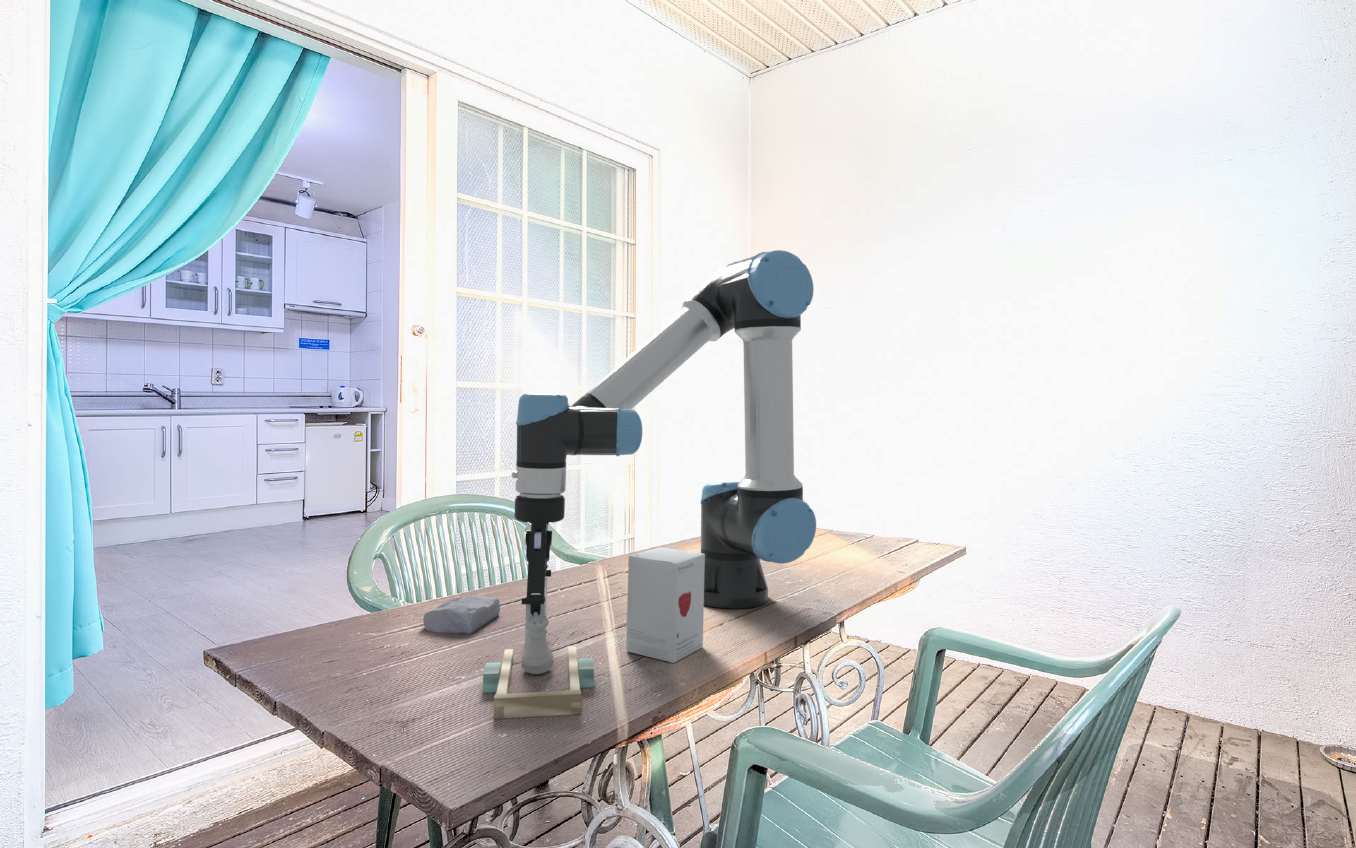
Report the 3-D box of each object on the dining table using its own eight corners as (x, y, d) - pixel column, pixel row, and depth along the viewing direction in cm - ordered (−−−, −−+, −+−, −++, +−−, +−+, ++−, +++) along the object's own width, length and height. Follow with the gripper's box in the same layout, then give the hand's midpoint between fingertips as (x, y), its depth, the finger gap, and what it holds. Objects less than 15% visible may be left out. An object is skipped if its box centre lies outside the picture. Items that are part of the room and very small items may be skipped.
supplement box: (674, 665, 104) (675, 563, 103) (624, 652, 109) (626, 555, 108) (705, 647, 112) (706, 552, 111) (657, 636, 116) (659, 545, 116)
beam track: (490, 659, 105) (491, 643, 104) (589, 655, 107) (589, 639, 107) (476, 720, 85) (476, 699, 85) (597, 713, 87) (597, 693, 87)
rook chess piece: (523, 657, 103) (521, 608, 100) (554, 656, 103) (553, 607, 101) (520, 676, 98) (519, 626, 96) (553, 675, 99) (552, 625, 97)
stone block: (419, 642, 117) (474, 635, 115) (414, 613, 117) (469, 605, 116) (454, 623, 129) (505, 616, 127) (450, 597, 129) (501, 589, 127)
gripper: (520, 483, 120) (516, 607, 121) (508, 506, 96) (504, 662, 96) (564, 484, 121) (561, 607, 122) (565, 507, 97) (560, 661, 98)
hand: (536, 632), depth 109 cm, fingers open, 13 cm apart
